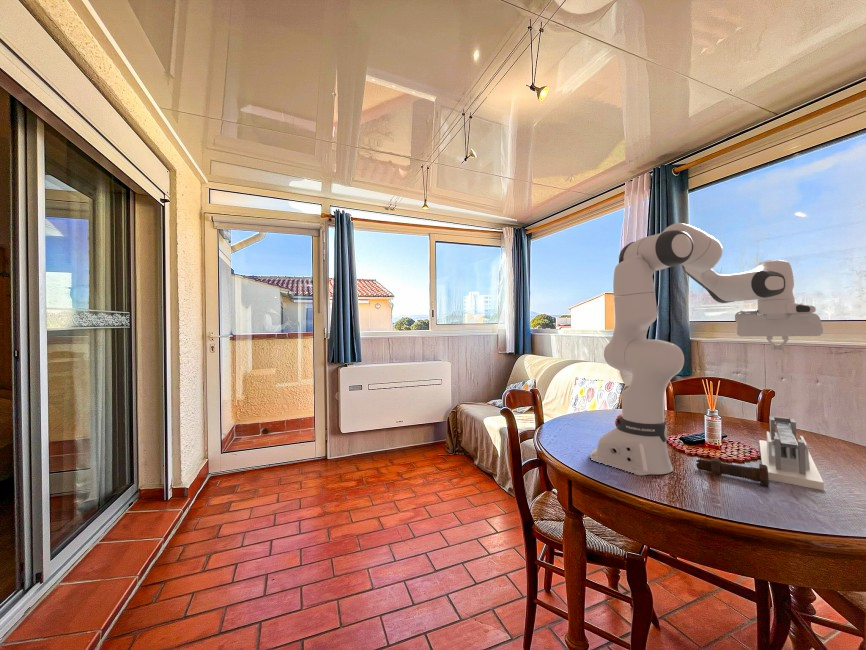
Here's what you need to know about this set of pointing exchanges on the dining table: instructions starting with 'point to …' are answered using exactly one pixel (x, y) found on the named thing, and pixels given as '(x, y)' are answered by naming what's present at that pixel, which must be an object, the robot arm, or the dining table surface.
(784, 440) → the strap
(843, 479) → the dining table surface
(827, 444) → the dining table surface
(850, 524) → the dining table surface
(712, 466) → the bolt
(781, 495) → the dining table surface
